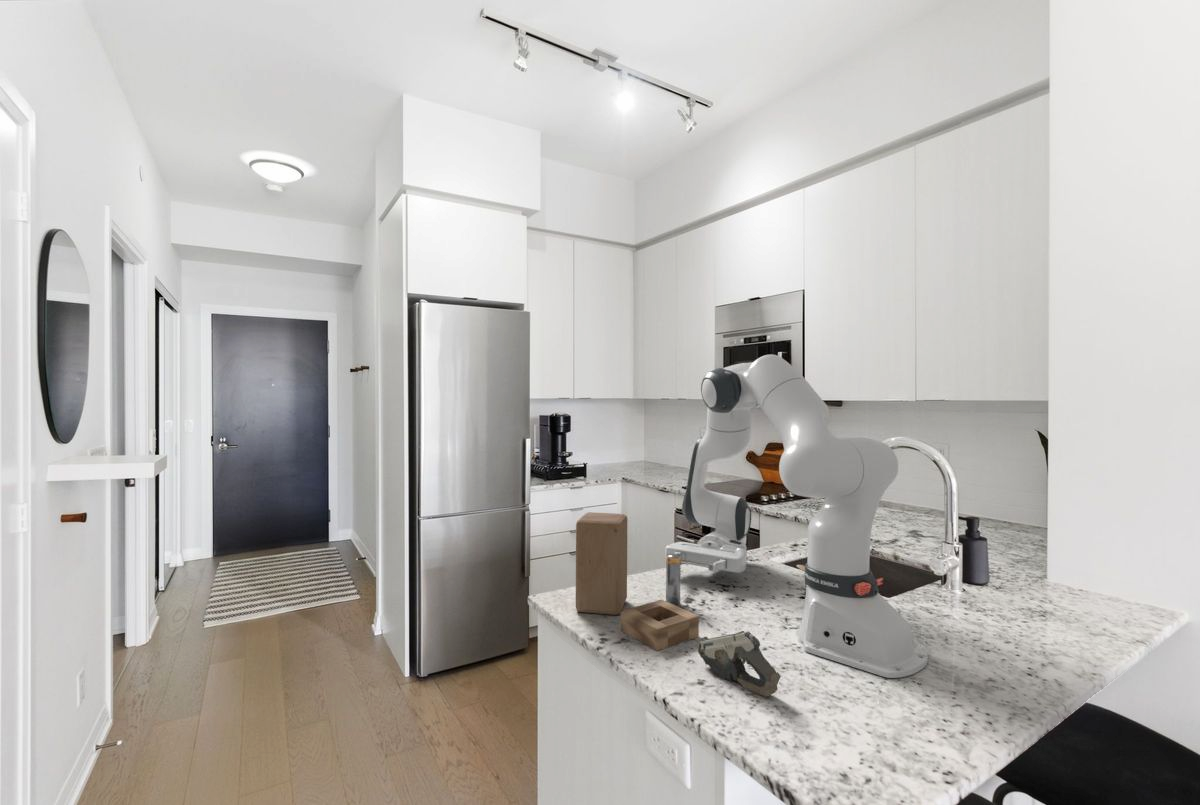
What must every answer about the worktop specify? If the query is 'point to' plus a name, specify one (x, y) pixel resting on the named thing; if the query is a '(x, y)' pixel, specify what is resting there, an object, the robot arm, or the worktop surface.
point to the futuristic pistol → (739, 661)
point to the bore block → (660, 624)
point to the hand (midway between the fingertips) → (693, 564)
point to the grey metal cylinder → (673, 578)
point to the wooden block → (601, 563)
